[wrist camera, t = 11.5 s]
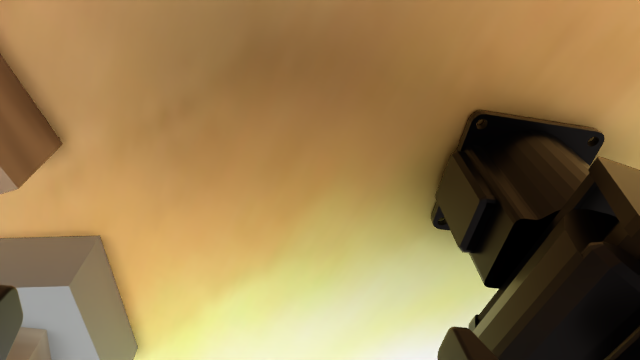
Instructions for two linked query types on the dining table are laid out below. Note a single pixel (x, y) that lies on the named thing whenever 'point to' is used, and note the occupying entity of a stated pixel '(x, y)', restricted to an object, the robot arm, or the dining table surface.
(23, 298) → the slate block
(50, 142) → the walnut block
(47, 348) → the birch cube
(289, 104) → the dining table surface
